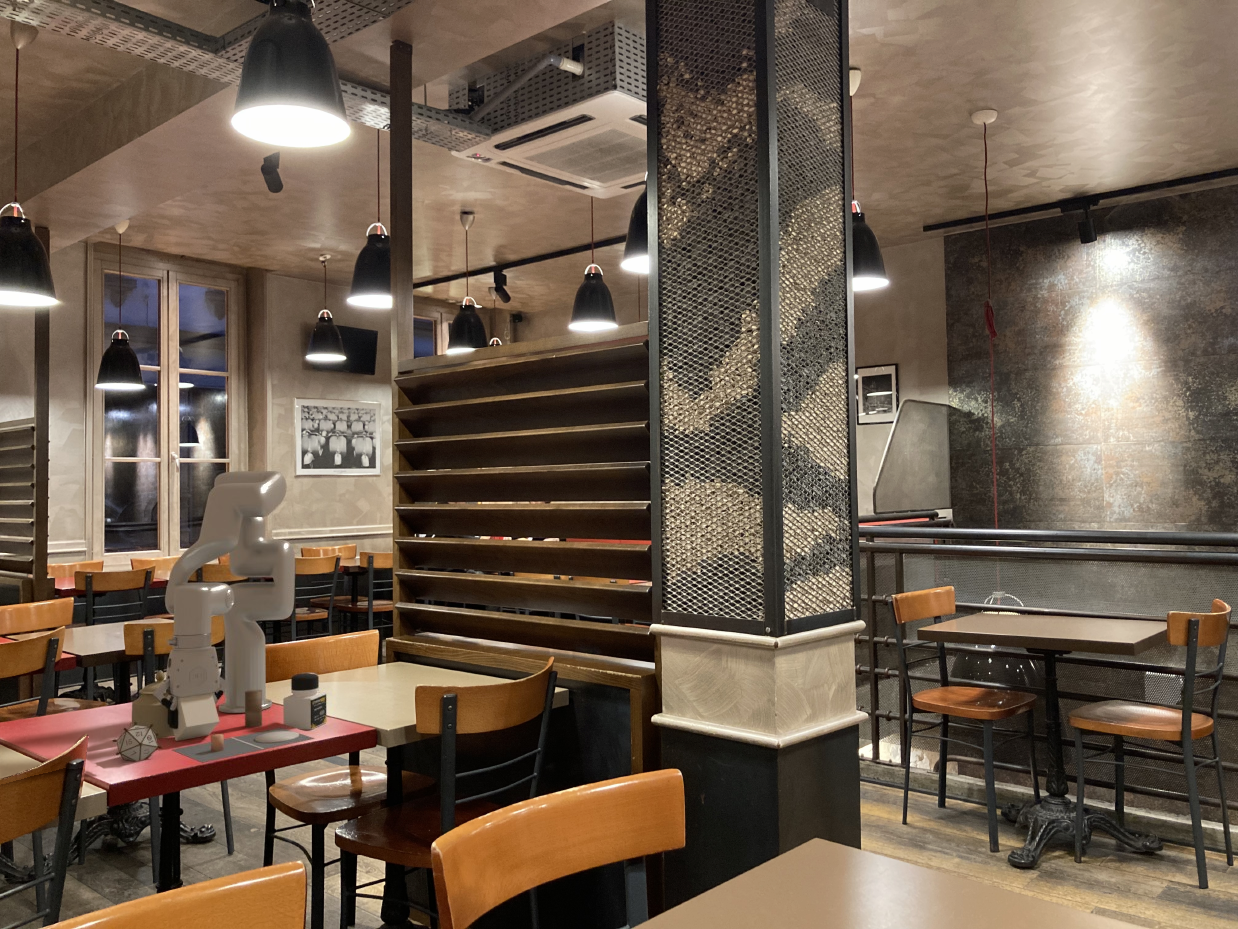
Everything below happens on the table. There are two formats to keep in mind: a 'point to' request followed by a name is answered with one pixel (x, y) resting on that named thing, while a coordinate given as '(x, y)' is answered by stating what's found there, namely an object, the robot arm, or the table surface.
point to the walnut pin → (253, 708)
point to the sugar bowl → (152, 709)
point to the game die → (137, 743)
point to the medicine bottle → (305, 703)
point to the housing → (195, 716)
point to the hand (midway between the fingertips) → (191, 724)
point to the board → (241, 744)
